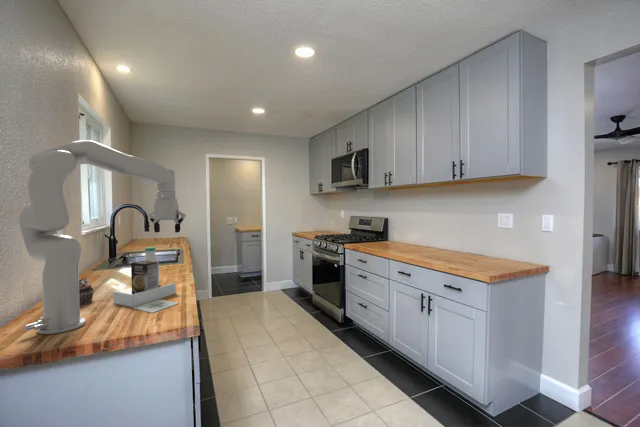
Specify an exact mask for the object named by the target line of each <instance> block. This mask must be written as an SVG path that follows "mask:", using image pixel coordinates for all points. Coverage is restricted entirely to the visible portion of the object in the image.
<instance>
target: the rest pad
mask: <svg viewBox="0 0 640 427" xmlns="http://www.w3.org/2000/svg"><path fill="white" fill-rule="evenodd" d="M176 304H177V305H179V304H180V303H179V302H175V301H170V300H165V299H161V298H160V299H157V300H154V301H151V302H147V303H144V304H141V305H138V306H135V307H131V308H132V309H133V310H138V311H142V312H146V313H152V314H154V313H156V312H160V311H163V310H165V309H168V308H171V307H174V306H176Z"/></svg>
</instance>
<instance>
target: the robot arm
mask: <svg viewBox="0 0 640 427" xmlns="http://www.w3.org/2000/svg"><path fill="white" fill-rule="evenodd" d="M80 165H90V166H94V167H96V168H100V169H102V170H105V171H108V172H111V173H114V174H117V175H123V176H136V178H137V180H138V181H139V182H140V183H142V184H145V185H156V186H157V187H156V189H157V190H156V191H157V192H155V194H154V196H155V197H156V198H155V201H154V206H153V211H152V212H150V213H148V214H147V215H148V218H149V220H150V222H152V224H153V230H154V233H160V230H161V229H160V228H161V227H160V226H161V224H160V221H173V222H174V233H180V232H181V224H182V223H183V221H184V220H185V218H186V216H187V214H185V213H184V212H182V211H180V209H179V202H178V199H177V198H176V172H175V170H174V169H171V168H166V166H164V165H162V164H159V163H156V162H154V161H151V160H148V159H146V158H141V157H137V156H134V155H130V154H126V153H124V152H121V151H118V150H116V149H113V148H111V147H110V146H107V145H104V144H102V143H99V142H97V141H95V140H90V139H87V140H86V139H85V140H75V141H71V142H68V143H65V144H61V145H58V146H56V147H53V148H48V149H45V150H42V151H39V152H36V153H35V154H33V155H32V156H31V157H30V159H29V161H28V166H29V169H30V171H32V172H31V173H30V175H29V178H28V181H27V189H28V195H29V202H30V205H27V206H25V207H24V208H23V209H22V210H21V212H20V214H19V218H18V223H19V227H20V231H21V236H22V238H23V242H24V243H23V244H24V246H25V250H26V251H27V253H28V255H29V256H30V258H32V259H34V260H35V261H39V262H44V266H43V270H42V274H41V278H42V279H41V282H42V283H41V284H42V308H43V309H42V312H43V316H41V317H39V319H38V320H36V322H32V323H28V324H25V325H24V327H23V330H24V331H25V332H28V331H31V330H34V331H37V333H38V334H40V335H54V334H55V335H56V334H60V333H65V332H69V331H73V330H76V329H78V328H80V327H82V326H84V325H85V324H86V322H87V321H86V318H85V317H81V311H80V310H81V307H80V306H81V305H80V300H79V280H80V261H81V255H82V246H81V243H80V242H79V240H78V239H76V237H73V236H70V235H67V234H58V232H60V231H63V230H65V229H66V228H68V226H69V224H70V216H69V215H70V214H69V210H68V206H67V203H66V200H65V194H64V184H65V181H66V179H67V178H68V177H69V176H70V175H71V174H72V173H73V172H75V170H76V169H77V166H80Z"/></svg>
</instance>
